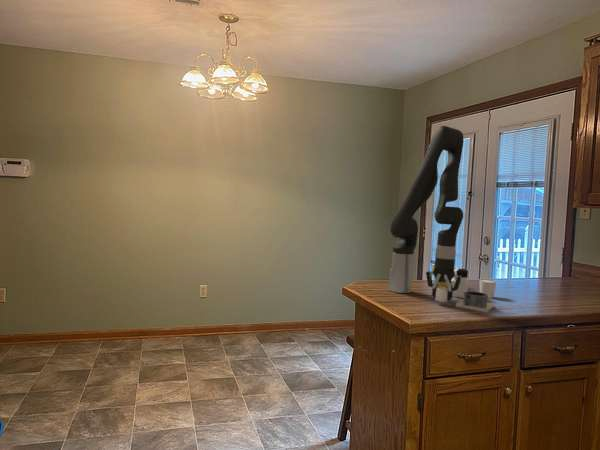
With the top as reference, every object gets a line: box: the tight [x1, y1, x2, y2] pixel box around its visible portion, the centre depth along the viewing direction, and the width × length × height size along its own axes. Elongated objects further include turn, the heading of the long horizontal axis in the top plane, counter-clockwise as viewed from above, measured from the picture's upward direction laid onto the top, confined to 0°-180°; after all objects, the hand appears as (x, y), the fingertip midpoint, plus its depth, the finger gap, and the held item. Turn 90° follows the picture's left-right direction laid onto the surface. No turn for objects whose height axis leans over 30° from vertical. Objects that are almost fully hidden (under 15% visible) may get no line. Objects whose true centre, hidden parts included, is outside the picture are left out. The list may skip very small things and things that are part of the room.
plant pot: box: [431, 264, 448, 288], centre depth 220 cm, size 10×10×10 cm
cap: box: [434, 286, 449, 303], centre depth 182 cm, size 5×5×5 cm
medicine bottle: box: [451, 267, 470, 299], centre depth 199 cm, size 7×7×12 cm
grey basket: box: [455, 290, 495, 313], centre depth 181 cm, size 12×12×5 cm
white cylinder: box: [478, 279, 497, 299], centre depth 201 cm, size 7×7×7 cm
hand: (441, 298), depth 182 cm, fingers closed on cap, 5 cm apart
